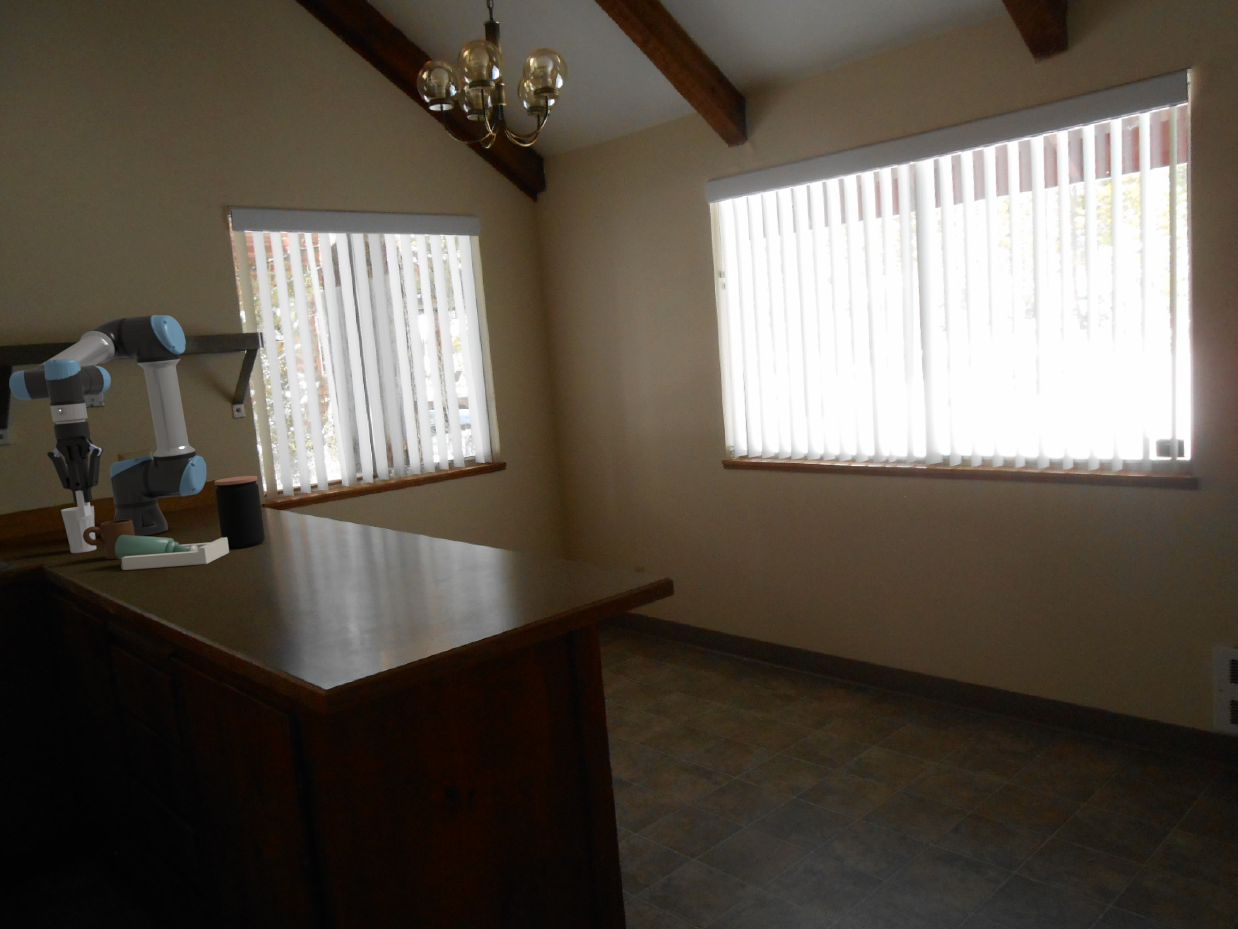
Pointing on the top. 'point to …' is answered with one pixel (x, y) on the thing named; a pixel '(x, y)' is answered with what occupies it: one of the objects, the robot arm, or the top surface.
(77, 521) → the cup
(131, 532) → the mug
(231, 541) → the coffee jar
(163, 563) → the rest
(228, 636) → the top surface
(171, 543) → the bottle
